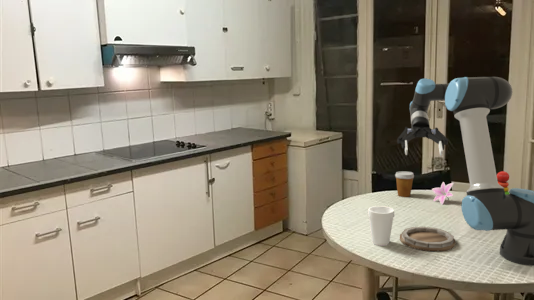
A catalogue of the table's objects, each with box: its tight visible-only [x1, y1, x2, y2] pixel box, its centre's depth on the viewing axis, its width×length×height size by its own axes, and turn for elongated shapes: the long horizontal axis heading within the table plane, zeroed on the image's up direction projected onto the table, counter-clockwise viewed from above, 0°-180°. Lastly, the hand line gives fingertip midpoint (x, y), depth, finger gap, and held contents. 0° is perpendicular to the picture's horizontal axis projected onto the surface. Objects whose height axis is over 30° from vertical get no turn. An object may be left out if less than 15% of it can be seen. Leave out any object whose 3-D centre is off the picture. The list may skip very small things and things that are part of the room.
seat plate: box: [399, 226, 457, 253], centre depth 165 cm, size 20×20×2 cm
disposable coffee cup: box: [394, 170, 415, 198], centre depth 226 cm, size 10×10×12 cm
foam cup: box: [367, 205, 395, 247], centre depth 164 cm, size 10×9×13 cm
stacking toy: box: [496, 170, 510, 194], centre depth 195 cm, size 8×8×19 cm
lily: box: [431, 181, 454, 205], centre depth 214 cm, size 12×12×10 cm
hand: (423, 152), depth 177 cm, fingers open, 13 cm apart
